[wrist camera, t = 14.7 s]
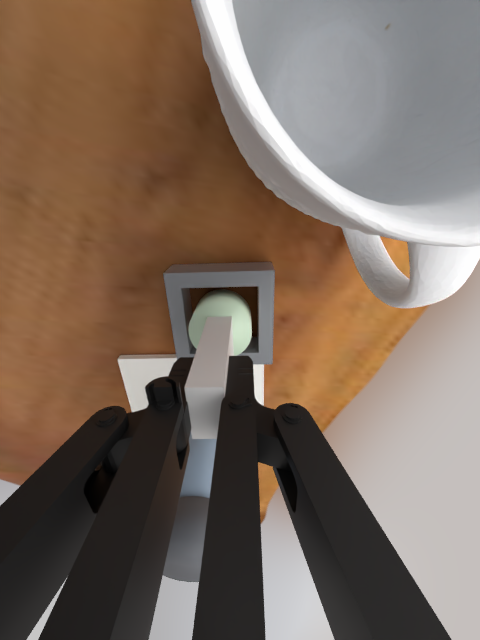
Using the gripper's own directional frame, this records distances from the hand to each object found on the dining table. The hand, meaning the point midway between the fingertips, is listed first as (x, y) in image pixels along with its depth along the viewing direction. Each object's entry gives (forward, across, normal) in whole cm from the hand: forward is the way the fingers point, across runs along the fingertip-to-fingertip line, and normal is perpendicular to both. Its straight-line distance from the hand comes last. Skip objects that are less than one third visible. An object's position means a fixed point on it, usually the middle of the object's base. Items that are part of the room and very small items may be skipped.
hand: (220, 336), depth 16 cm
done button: (+3, 0, 0) cm, 3 cm away
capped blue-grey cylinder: (+4, -2, -9) cm, 10 cm away
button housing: (+4, 0, 0) cm, 4 cm away
